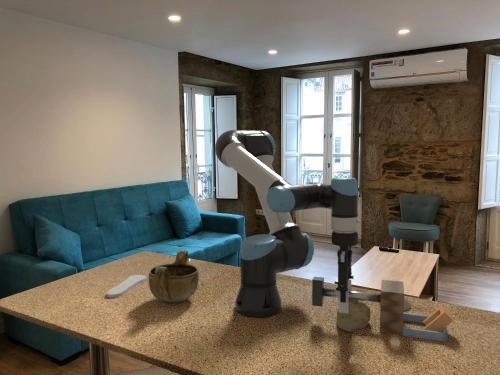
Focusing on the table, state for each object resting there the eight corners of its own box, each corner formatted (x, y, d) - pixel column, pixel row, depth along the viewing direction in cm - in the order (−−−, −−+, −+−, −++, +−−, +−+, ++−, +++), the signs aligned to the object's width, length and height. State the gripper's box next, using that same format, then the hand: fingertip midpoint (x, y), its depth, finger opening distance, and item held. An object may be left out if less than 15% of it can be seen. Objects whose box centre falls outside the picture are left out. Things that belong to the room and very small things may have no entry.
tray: (402, 340, 110) (403, 328, 110) (401, 323, 121) (402, 312, 120) (447, 346, 107) (447, 334, 106) (442, 329, 117) (443, 317, 117)
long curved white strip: (149, 279, 163) (149, 275, 163) (119, 300, 141) (118, 295, 141) (133, 278, 164) (133, 274, 164) (101, 298, 143) (101, 293, 143)
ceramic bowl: (164, 287, 152) (163, 248, 151) (207, 290, 149) (207, 250, 147) (136, 311, 130) (134, 266, 129) (186, 315, 127) (185, 269, 126)
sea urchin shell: (415, 310, 126) (396, 291, 126) (396, 326, 127) (377, 307, 128) (410, 299, 134) (393, 282, 135) (392, 314, 136) (375, 297, 137)
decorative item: (342, 343, 115) (364, 326, 110) (324, 312, 121) (344, 294, 115) (362, 336, 122) (383, 319, 116) (343, 307, 127) (363, 289, 121)
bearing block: (379, 336, 113) (380, 291, 111) (380, 321, 122) (381, 279, 121) (402, 339, 111) (404, 293, 109) (401, 324, 120) (403, 281, 119)
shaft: (312, 305, 122) (312, 279, 121) (313, 301, 125) (314, 276, 124) (387, 314, 115) (388, 287, 114) (387, 310, 118) (388, 284, 117)
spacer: (424, 329, 111) (444, 312, 109) (423, 321, 116) (442, 305, 114) (433, 337, 110) (453, 320, 108) (431, 329, 115) (450, 313, 113)
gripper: (355, 238, 106) (355, 322, 108) (360, 224, 127) (360, 295, 129) (326, 237, 109) (327, 319, 111) (336, 224, 129) (336, 292, 131)
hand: (345, 306), depth 120 cm, fingers open, 9 cm apart
